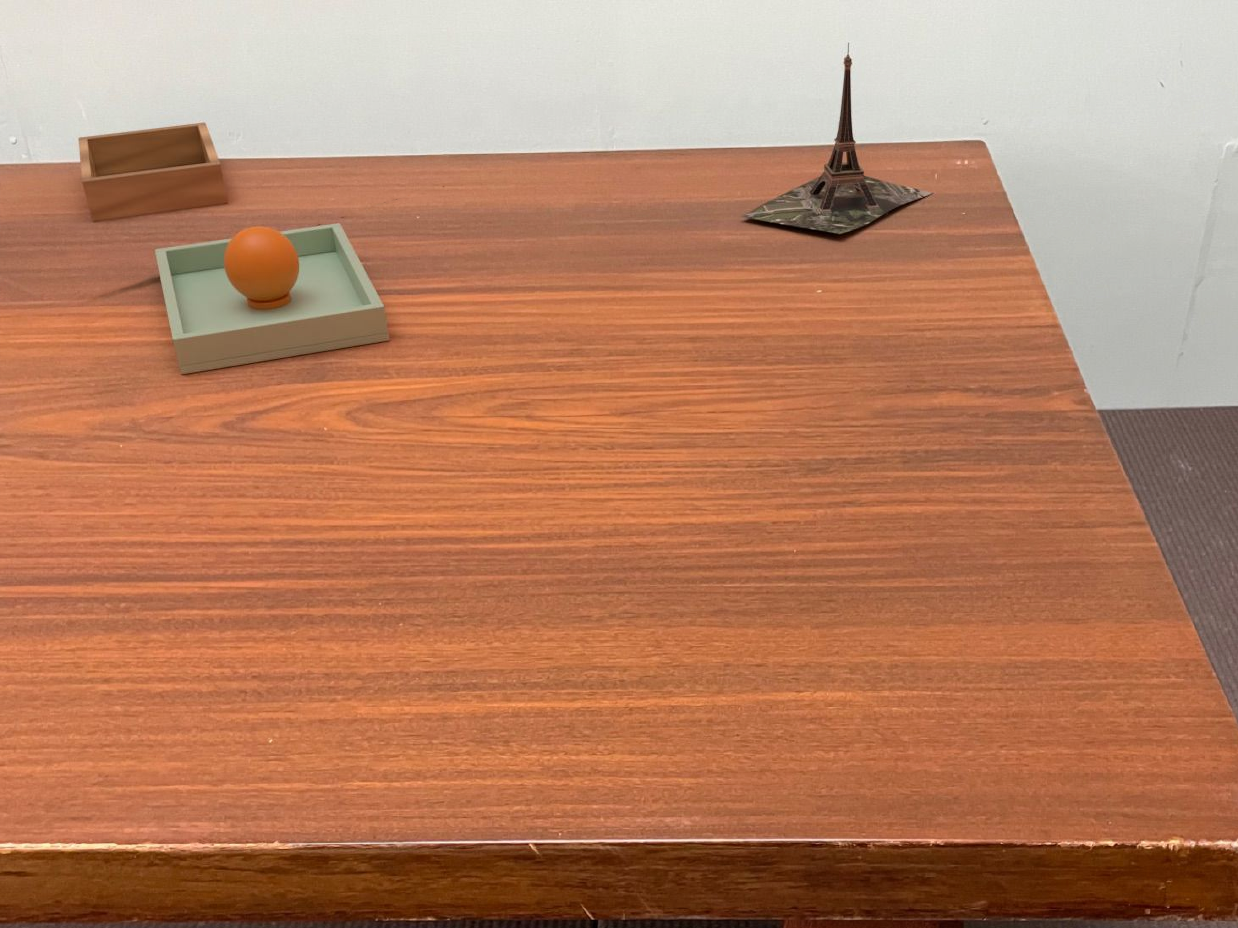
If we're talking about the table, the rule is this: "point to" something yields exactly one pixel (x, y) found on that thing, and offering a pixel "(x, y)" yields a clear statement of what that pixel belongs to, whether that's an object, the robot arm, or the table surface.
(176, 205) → the wooden box
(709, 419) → the table surface
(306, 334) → the tray
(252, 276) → the orange
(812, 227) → the eiffel tower figurine
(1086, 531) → the table surface
